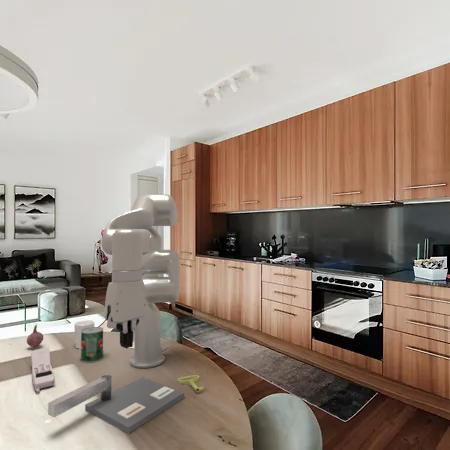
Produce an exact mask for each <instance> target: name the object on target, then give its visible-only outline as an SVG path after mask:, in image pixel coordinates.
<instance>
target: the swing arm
mask: <svg viewBox="0 0 450 450" xmlns="http://www.w3.org/2000/svg"><path fill="white" fill-rule="evenodd" d="M111 392H112V375H110V374H104V375H101V377H99V378H97V379H95V380H93V381H91V382H89V383H86V384H85V385H82V386H80V387H78V388H77V389H74V390H72V391H69V392H67V393H66V394H64V395H62V396H61V395H60V396H59V397H58V398H55V399H54V400H51V401H49V402H48V403H47V406H48V407H47V408H48V409H47V416H50V417H52V418H56V417H58V416H60V415H62V414H64V413H66V412H68V411H70V410H71V409H73V408H75V407H77V406H78V405H80V404H82V403H84V402H86V401H88V400H90V399H92V398H94V397H96V396H98V395H99V394H100V397H101V400H108V399H110V398H111Z"/></svg>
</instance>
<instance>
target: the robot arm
mask: <svg viewBox="0 0 450 450" xmlns="http://www.w3.org/2000/svg"><path fill="white" fill-rule="evenodd" d="M178 214H179V213H178V209H177V205H176V201H175V199H174V198H173V196H171V195H170V194H166V193H165V194H162V193H161V194H159V193H158V194H156V193H154V194H153V193H152V194H151V193H147V194H145V193H144V194H141V195H139V196H137V197H136V198H135V199H134V202H133V204H132V207H131V209H130V211H127V212H125V213H123V214H120V215H118V216H116V217H114V218H112V219H111V220H110V221H109V222H108V224H107V225H106V227H105V229H104V231H103V233H102V236H101V242H100V243H101V248H102V251H103V252H104V253H105V254H107V255H110V256H111V258H112V259H111V282H108V285H107V289H106V292H105V293H106V295H105V301H104V319H105V320H106V321H107V322H106V327H107V328H108V329H116V330H117V332H119V344H120V347H122V348H124V349H126V350H127V349H128V348H129V347H133V331H135V332H134V341H135V348H134V355H133V356H132V357H130V359H129V364H130V366H132V367H134V368H137V369H138V368H139V369H149V368H154V367H157V366H160V365H161V364H163V363H164V362H165V355H164V354H163V353H164V352H166V351H168V350H169V349H170V346H169V345H168V344H165V345H161V329H162V328H161V322H162V319H161V317H162V316H161V312H160V309H159V308H158V307H157V305H156V304H157V303H174V302H177V300H179V296H180V293H181V292H180V291H181V290H180V289H181V288H180V287H181V283H180V282H181V281H180V280H181V259H180V255H179V253H178V251H176V250H174V249H162V242H163V239H162V236H161V234H159V232H158V231H157V230H156V229H155V228H154V227H173V226H174V225H176V224H177V222H178V217H179V216H178ZM145 274H146V275H167V276H145V277H143V276H144V275H145Z"/></svg>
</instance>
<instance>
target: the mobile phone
mask: <svg viewBox="0 0 450 450" xmlns="http://www.w3.org/2000/svg"><path fill="white" fill-rule="evenodd" d="M50 352H51V349H50V347H45V348H39V349H35V350H34V349H33V350H30V356H31V367H32V371H31V378H32V385H33V386H34V390H35V393H36V394H39V393H40V392H41V391H40V390H41V389H43V388H48V387H52V386H55V374H54V369H53V367H52V364H51V357H50V355H51V353H50Z"/></svg>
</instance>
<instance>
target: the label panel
mask: <svg viewBox="0 0 450 450" xmlns="http://www.w3.org/2000/svg"><path fill="white" fill-rule="evenodd" d="M183 399H185V392H183V391H181V390H178V389H176V388H173V387H172V386H171V387H170V386H169V385H165V384H162V383H160V382H158V381H155V380H152V379H150V378H147V377H143V376H141V377H139V378H137V379H135V380H133V381H131V382H128V383H127V384H125V385H123V386H121V387H118V388H117V389H115V390H113V391H112V390H111V398H110V399H108V400H101V396H100V397H98V398H97V399H94V400H91V401H90V402H87V403H86V404H85V405H84V406H85V407H84V409H85V412H88V413H89V414H91V415H93V416H95V417H97V418H98V419H101V420H102V421H104V422H106V423H108V424H109V425H111V424H112V426H113V425H114V426H113V427H115V426H116V428H117V427H118V428H117V429H119V428H120V429H119V430H121V431H122V430H123V431H122V432H124V431H125V432H124V433H126V432H127V433H126V434H128V433H129V434H130V432H131V433H132V432H134V431H135V430H137V429H139V428H140V427H141V426H143V425H144V424H146V423H147V422H150V420H153V418H155V417H157V416H159V415H160V414H162V413H164V412H166V411H167V410H168V409H170V407H172V406H174V405H175V404H177V403H179V402H180V401H182V400H183Z"/></svg>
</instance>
